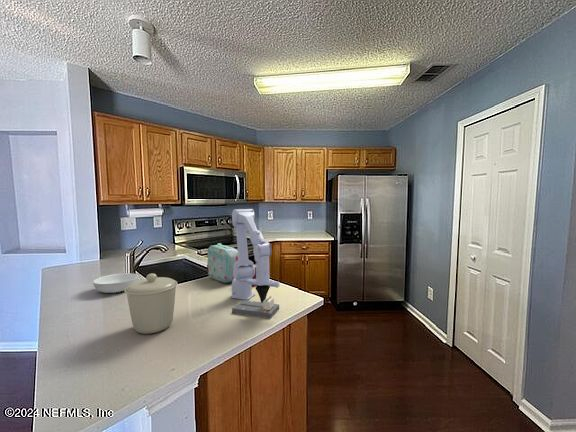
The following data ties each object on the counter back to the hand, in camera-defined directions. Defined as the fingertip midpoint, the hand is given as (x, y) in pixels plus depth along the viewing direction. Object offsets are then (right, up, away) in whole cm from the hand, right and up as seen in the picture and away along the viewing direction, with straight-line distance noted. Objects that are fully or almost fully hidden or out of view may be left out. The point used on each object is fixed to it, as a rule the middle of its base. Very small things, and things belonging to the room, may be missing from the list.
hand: (263, 301), depth 118 cm
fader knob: (+2, -2, -1) cm, 3 cm away
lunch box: (-29, -2, +48) cm, 57 cm away
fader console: (-3, -4, +1) cm, 6 cm away
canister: (-41, -6, -13) cm, 43 cm away
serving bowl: (-82, -3, +30) cm, 88 cm away
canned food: (-10, -2, +37) cm, 39 cm away
